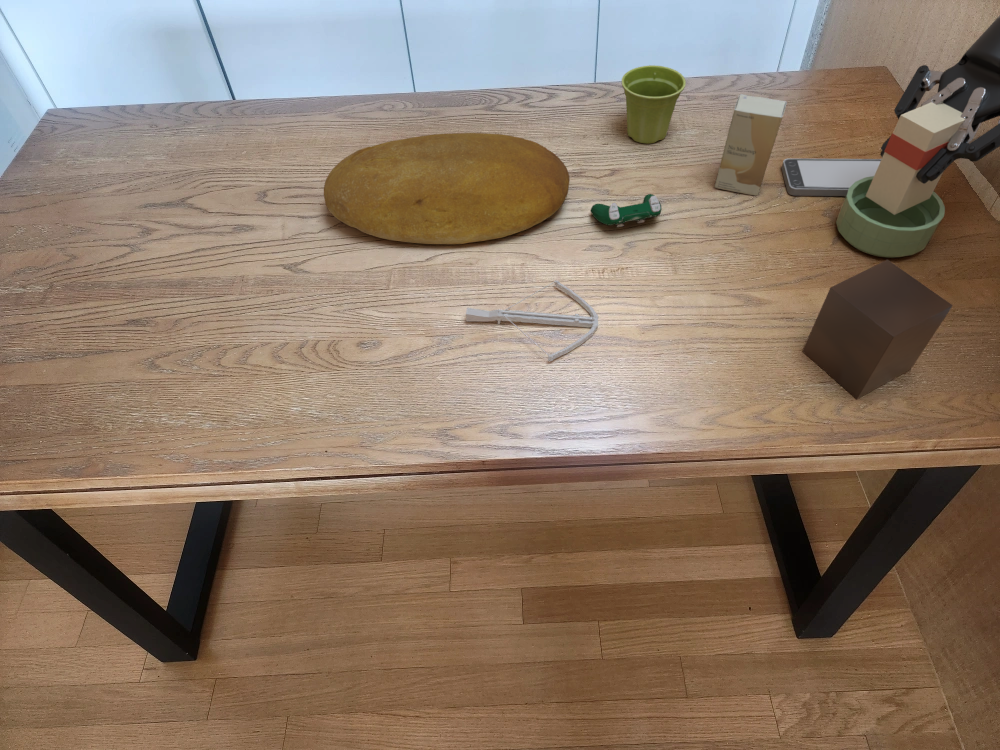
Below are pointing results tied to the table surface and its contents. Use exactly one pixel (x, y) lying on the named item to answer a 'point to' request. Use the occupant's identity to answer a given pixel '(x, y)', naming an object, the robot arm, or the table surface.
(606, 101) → the table surface
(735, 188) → the cosmetic box
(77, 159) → the table surface
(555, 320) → the crossbow
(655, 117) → the plant pot
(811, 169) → the smartphone
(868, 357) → the block
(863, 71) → the table surface
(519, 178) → the bread
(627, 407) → the table surface
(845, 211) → the bowl
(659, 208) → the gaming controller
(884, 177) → the snack carton
